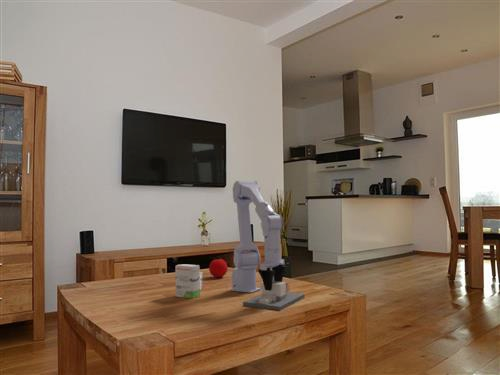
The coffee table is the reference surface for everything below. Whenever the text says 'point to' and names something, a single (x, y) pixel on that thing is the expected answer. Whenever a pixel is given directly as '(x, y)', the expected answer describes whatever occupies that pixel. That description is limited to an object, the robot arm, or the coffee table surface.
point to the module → (276, 290)
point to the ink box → (187, 281)
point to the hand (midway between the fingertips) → (273, 288)
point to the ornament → (218, 268)
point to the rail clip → (287, 287)
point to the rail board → (273, 301)
